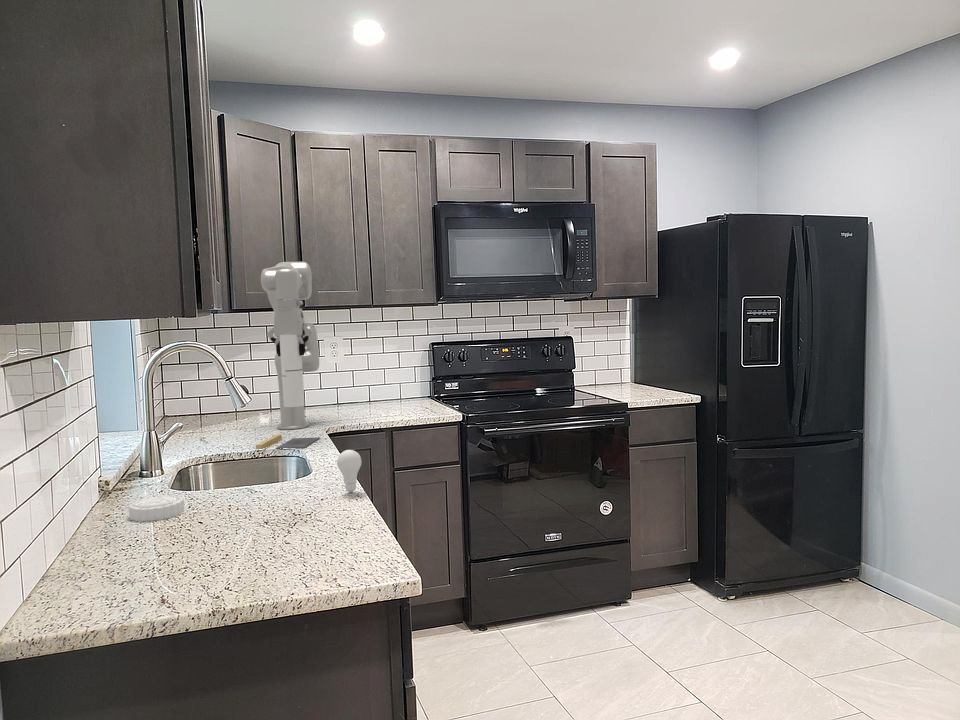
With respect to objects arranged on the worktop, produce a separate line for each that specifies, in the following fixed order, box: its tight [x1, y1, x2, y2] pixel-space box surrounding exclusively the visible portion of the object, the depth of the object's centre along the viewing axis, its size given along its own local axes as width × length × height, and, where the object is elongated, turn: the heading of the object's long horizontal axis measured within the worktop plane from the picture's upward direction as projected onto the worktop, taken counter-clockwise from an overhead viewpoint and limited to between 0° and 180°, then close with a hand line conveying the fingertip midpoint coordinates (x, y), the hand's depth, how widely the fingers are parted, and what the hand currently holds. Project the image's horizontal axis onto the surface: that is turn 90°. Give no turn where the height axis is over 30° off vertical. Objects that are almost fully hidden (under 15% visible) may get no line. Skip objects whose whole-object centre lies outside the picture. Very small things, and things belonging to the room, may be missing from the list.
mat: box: [275, 436, 321, 450], centre depth 257 cm, size 18×10×1 cm, turn 176°
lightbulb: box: [336, 449, 362, 494], centre depth 185 cm, size 6×6×11 cm
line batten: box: [255, 433, 283, 450], centre depth 258 cm, size 20×2×2 cm, turn 176°
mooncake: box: [128, 494, 185, 522], centre depth 173 cm, size 12×12×4 cm
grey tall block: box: [279, 335, 305, 407], centre depth 256 cm, size 7×7×25 cm
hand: (291, 355), depth 255 cm, fingers closed on grey tall block, 7 cm apart
